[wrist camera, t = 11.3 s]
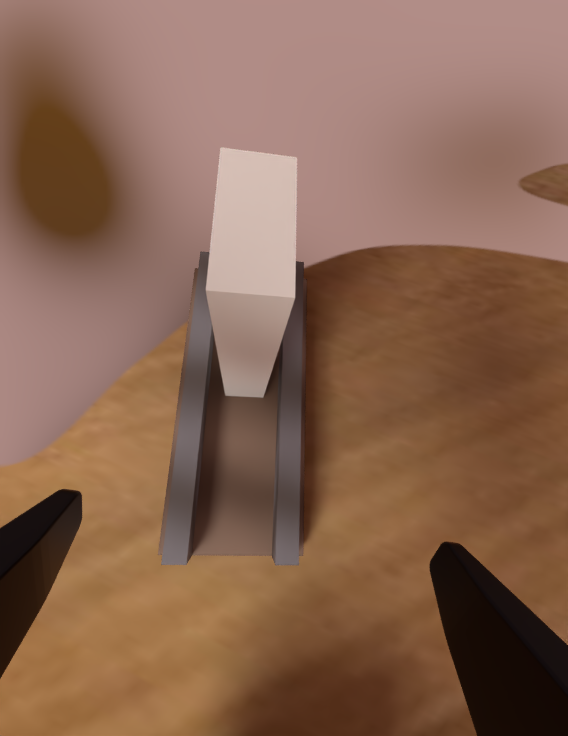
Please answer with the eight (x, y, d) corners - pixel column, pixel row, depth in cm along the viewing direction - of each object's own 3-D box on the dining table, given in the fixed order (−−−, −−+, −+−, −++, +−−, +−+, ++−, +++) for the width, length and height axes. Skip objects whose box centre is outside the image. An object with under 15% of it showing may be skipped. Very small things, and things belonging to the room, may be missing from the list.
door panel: (263, 397, 21) (295, 298, 9) (225, 395, 21) (205, 290, 9) (266, 326, 23) (297, 157, 11) (230, 323, 23) (220, 147, 10)
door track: (298, 550, 20) (310, 565, 17) (164, 548, 20) (148, 564, 16) (303, 289, 26) (312, 263, 23) (197, 279, 25) (191, 250, 22)
